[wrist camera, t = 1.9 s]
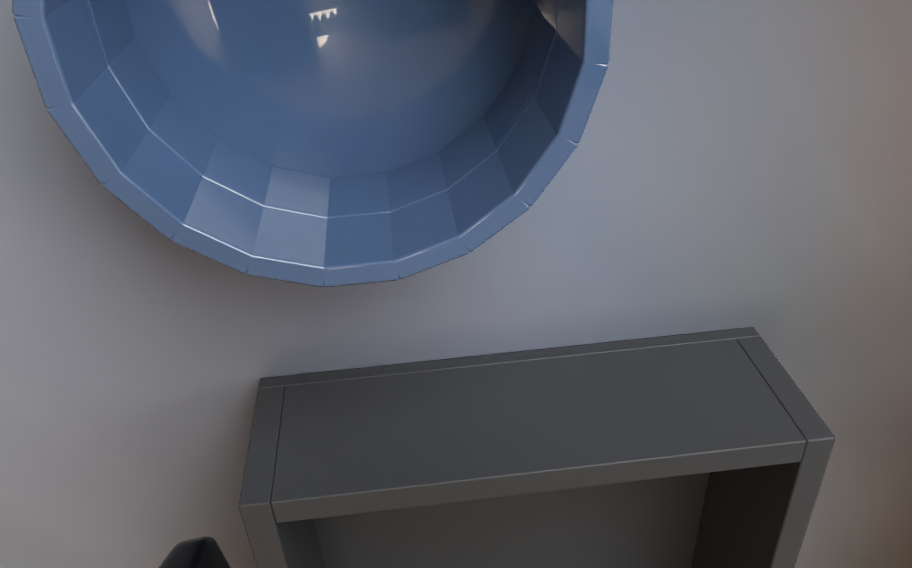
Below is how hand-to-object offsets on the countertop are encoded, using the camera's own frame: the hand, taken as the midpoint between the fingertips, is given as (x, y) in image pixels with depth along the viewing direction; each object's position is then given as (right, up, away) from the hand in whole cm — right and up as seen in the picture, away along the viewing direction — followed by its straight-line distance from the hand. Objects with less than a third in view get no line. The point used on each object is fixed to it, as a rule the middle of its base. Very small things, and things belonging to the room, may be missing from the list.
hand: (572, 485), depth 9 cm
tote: (+1, -6, +18) cm, 19 cm away
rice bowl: (-4, +9, +8) cm, 13 cm away
